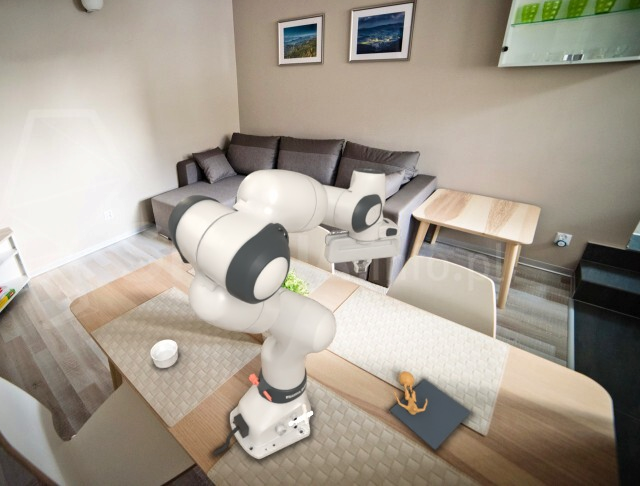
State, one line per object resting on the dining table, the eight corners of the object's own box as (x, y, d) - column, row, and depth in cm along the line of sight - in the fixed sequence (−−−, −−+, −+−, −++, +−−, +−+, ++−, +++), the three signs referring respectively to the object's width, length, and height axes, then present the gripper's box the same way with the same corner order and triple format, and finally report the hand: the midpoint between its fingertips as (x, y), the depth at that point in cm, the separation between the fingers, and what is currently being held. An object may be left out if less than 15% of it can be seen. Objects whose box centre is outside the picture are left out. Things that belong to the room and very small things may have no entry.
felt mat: (434, 450, 77) (435, 449, 77) (389, 411, 87) (389, 409, 87) (469, 413, 85) (470, 411, 84) (424, 380, 94) (424, 379, 94)
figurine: (421, 372, 93) (435, 401, 82) (417, 390, 94) (430, 422, 83) (390, 365, 95) (400, 393, 83) (387, 383, 96) (395, 413, 85)
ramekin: (147, 366, 106) (144, 356, 105) (162, 346, 114) (159, 336, 112) (170, 372, 103) (168, 363, 101) (184, 351, 111) (182, 342, 109)
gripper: (329, 237, 83) (327, 281, 89) (407, 228, 84) (400, 273, 90) (321, 226, 89) (320, 269, 95) (394, 218, 90) (389, 261, 95)
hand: (360, 271), depth 92 cm, fingers closed
